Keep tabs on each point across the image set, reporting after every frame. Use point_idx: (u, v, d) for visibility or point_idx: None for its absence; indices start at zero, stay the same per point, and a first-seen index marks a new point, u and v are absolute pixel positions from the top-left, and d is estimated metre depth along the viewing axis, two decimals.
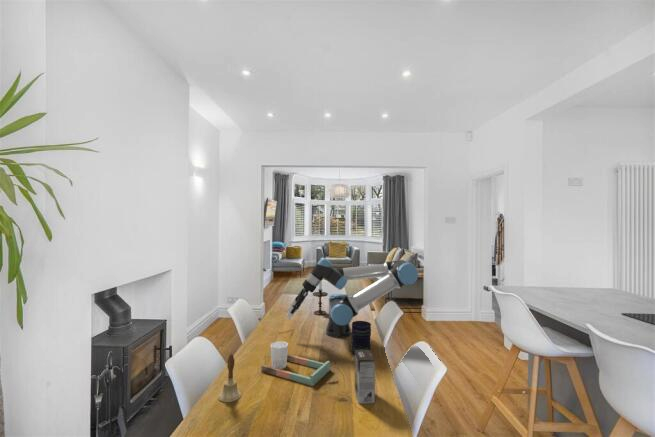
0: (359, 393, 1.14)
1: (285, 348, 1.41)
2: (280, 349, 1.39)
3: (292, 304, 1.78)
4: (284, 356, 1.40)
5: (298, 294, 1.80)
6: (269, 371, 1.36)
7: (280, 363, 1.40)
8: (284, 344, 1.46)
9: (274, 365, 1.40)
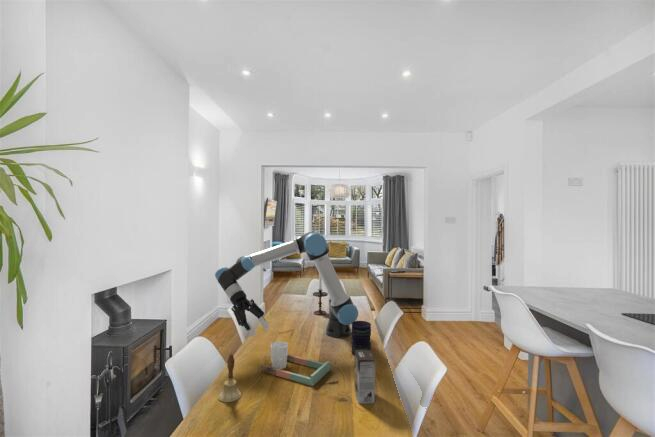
0: (359, 393, 1.14)
1: (285, 348, 1.41)
2: (280, 349, 1.39)
3: (261, 323, 1.54)
4: (284, 356, 1.40)
5: None
6: (269, 371, 1.36)
7: (280, 363, 1.40)
8: (284, 344, 1.46)
9: (274, 365, 1.40)
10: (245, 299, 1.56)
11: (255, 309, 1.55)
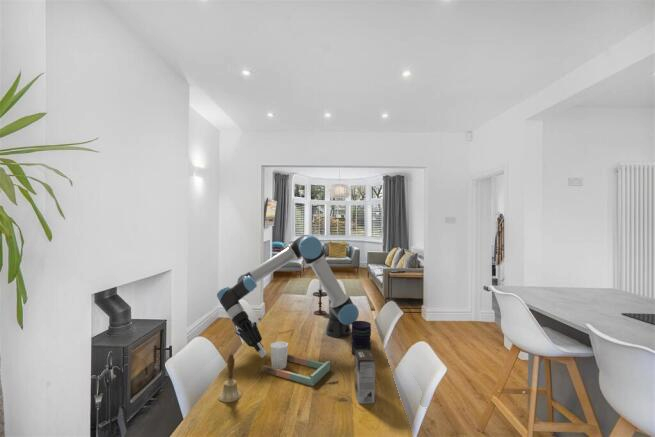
0: (359, 393, 1.14)
1: (285, 348, 1.41)
2: (280, 349, 1.39)
3: None
4: (284, 356, 1.40)
5: None
6: (269, 371, 1.36)
7: (280, 363, 1.40)
8: (284, 344, 1.46)
9: (274, 365, 1.40)
10: (247, 320, 1.55)
11: (255, 333, 1.52)
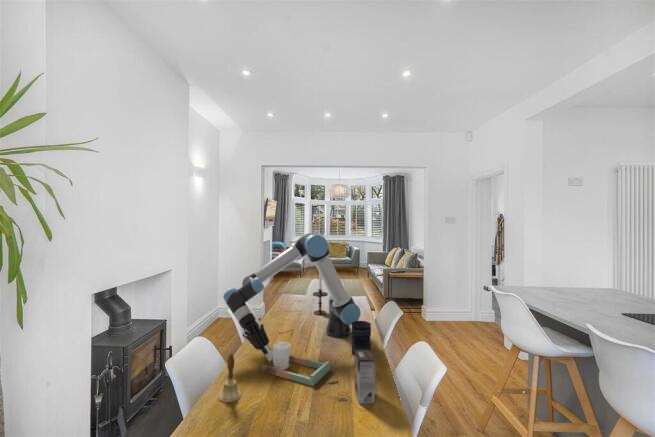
0: (359, 393, 1.14)
1: (287, 349, 1.40)
2: (282, 350, 1.39)
3: None
4: (286, 357, 1.40)
5: None
6: (269, 371, 1.36)
7: (282, 364, 1.39)
8: (286, 345, 1.45)
9: (276, 366, 1.39)
10: (254, 322, 1.52)
11: (262, 335, 1.49)
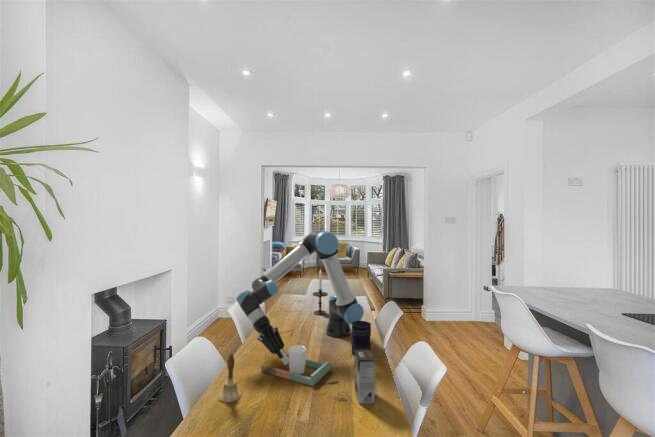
0: (359, 393, 1.14)
1: (304, 353, 1.36)
2: (298, 354, 1.34)
3: None
4: (302, 361, 1.36)
5: None
6: (269, 371, 1.36)
7: (298, 368, 1.35)
8: (302, 348, 1.41)
9: (292, 370, 1.35)
10: (268, 325, 1.48)
11: (277, 339, 1.44)
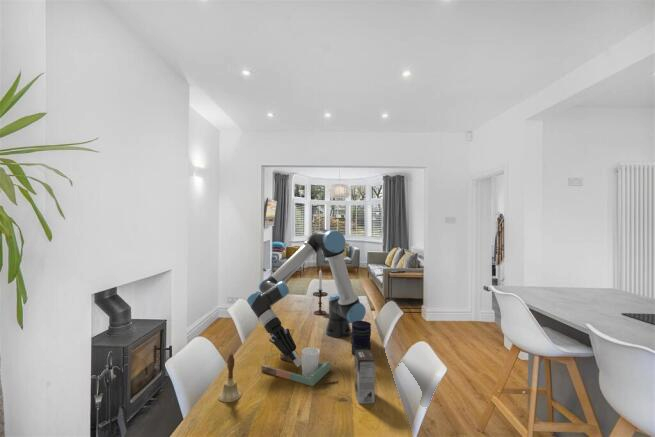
0: (359, 393, 1.14)
1: (317, 355, 1.34)
2: (311, 356, 1.32)
3: None
4: (315, 363, 1.33)
5: None
6: (269, 371, 1.36)
7: (311, 371, 1.33)
8: (315, 350, 1.39)
9: (305, 372, 1.33)
10: (280, 326, 1.46)
11: (289, 340, 1.42)
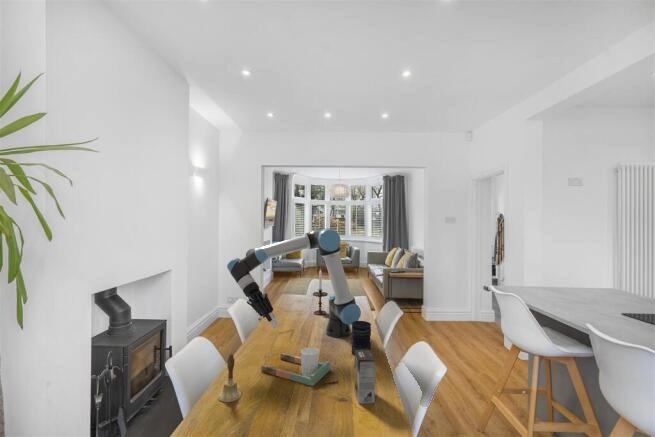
0: (359, 393, 1.14)
1: (316, 355, 1.34)
2: (311, 356, 1.32)
3: None
4: (315, 363, 1.33)
5: None
6: (269, 371, 1.36)
7: (311, 371, 1.33)
8: (315, 350, 1.39)
9: (305, 373, 1.33)
10: (258, 291, 1.52)
11: (266, 303, 1.49)
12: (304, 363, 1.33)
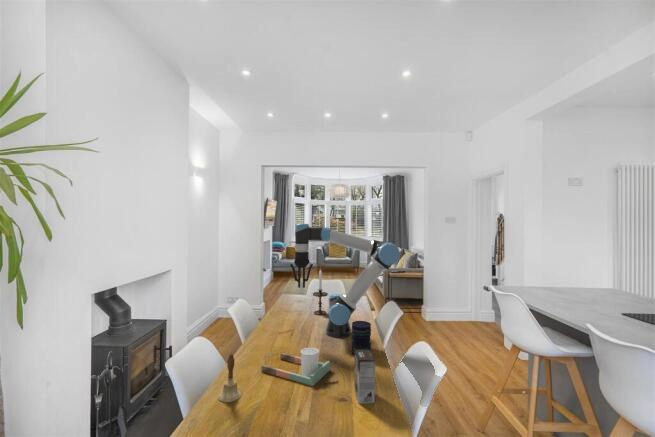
0: (359, 393, 1.14)
1: (316, 355, 1.34)
2: (311, 356, 1.32)
3: None
4: (315, 363, 1.33)
5: None
6: (269, 371, 1.36)
7: (311, 371, 1.33)
8: (314, 350, 1.39)
9: (305, 373, 1.33)
10: (306, 259, 1.73)
11: (304, 273, 1.73)
12: (304, 363, 1.33)
